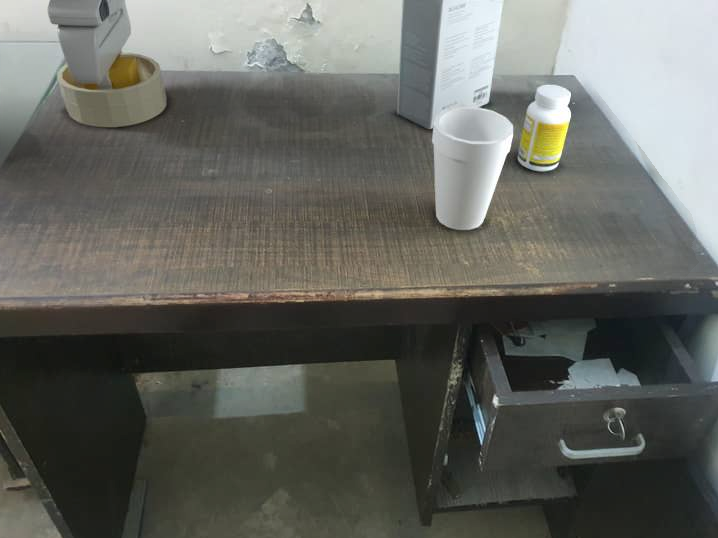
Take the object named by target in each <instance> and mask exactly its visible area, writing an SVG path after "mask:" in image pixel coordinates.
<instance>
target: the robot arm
mask: <svg viewBox="0 0 718 538" xmlns="http://www.w3.org/2000/svg"><path fill="white" fill-rule="evenodd" d="M47 15H48V19H49V21H50V24H52V25H55V26H57V37H58V42H59V45H60V48H61V51H62V54H63V57H64V60H65V64H67V66H68V69H69V71H70V74H71V76H72V77H73V78H74V80H75V81H76V82H78V83H88V84H97V85H98V87H99V90H112V89H115V88H114V84H113V82H111V81H110V78H109V76H108V75H109V69H110V67H111V66H112V64H113V63H114V61H115V59H116V58H117V57H122V53H123V48H124V46H125V44H126V43H127V42H128V39H129V38H130V36H131V34H132V25H131V20H130V17H129V13H128V9H127V5H126V0H49V1H48V5H47Z"/></svg>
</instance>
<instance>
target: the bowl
mask: <svg viewBox="0 0 718 538" xmlns="http://www.w3.org/2000/svg"><path fill="white" fill-rule="evenodd" d="M122 57H135V58H136V63H137V68H138V73H139V77H140V82H141V83H139V84H136V85H133V86H129V87H125V88H121V89H112V90H89V89H85V86H84V83H78V82H76V81H75V80H74V78H73V77H72V76H71V74H70V71H69V69H68V66H67V63H65V64H63V66H61V67H60V68H59V69H58V71H57V72H56V80H57V84H58V86H59V90H60V93H61V96H62V99H63V103H64V105H65V109H66V111H67V113H68V115H69V117H70V118H71V119H73V120H74V121H76V122H77V123H79V124H82V125H86V126H91V127H97V128H119V127H128V126H132V125H133V126H134V125H137V124H141V123H144V122H147V121H149V120H152V119H153V118H155V117H157V116H158V115H160V114H161V113H163V111H164V110H166V109H165V108H166V107H167V104H168V103H167V101H168V100H167V94H166V89H165V85H164V79H163V74H162V69H161V65H160V64H159V63H158V62H157V61H156V60H155V59H153V58H152V57H149V56H146V55H143V54H139V53H132V52H122Z"/></svg>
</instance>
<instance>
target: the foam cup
mask: <svg viewBox="0 0 718 538" xmlns="http://www.w3.org/2000/svg"><path fill="white" fill-rule="evenodd" d="M432 129H433V130H432V137H431V143H432V145H433V171H434V196H435V213H436V214H435V217H436V219H437V220H438V222H439V223H440V224H441V225H444V226H445V227H447V228H449V229H452V230H456V231H470V230H474V229H477V228H479V227H480V226H481V225H482V224H483V223H484V219H485V218H486V216H487V212H488V210H489V207H490V205H491V201H492V199H493V195H494V193H495V190H496V187H497V184H498V181H499V178H500V175H501V172H502V170H503V166H504V163H505V161H506V158H507V156H508V153H510V150H511V147H512V141H513V136H514V124H513V123H512V122H511V121H510V120H509V119H508V118H507V117H506V116H505V115H502V114H501V113H498V112H496V111H494V110H491V109H488V108H482V107H479V108H478V107H454V108H450V109H445V110H443V111H442V112H440V113H439V114H437V115H436V116H435V120H434V127H433V128H432Z"/></svg>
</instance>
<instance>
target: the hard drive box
mask: <svg viewBox="0 0 718 538" xmlns="http://www.w3.org/2000/svg"><path fill="white" fill-rule="evenodd" d="M503 7H504V0H402V3H401V25H400V26H401V27H400V45H399V65H398V66H399V68H398V84H397V85H398V86H397V87H398V88H397V89H398V90H397V106H396V107H397V108H396V109H397V110H396V114H397V115H398V116H401V117H402V118H404V119H407V120H409V121H411V122H412V123H415V124H417V125H419V126H421V127H423V128H425V129H427V130H431V129H433V127H434V120H435V116H436V115H437V114H439V113H440V112H442V111H443V110H445V109H450V108H454V107H478V108H481V107H482V106H484V105H487V104H489V102H490V96H491V89H492V81H493V75H494V69H495V62H496V54H497V48H498V41H499V33H500V26H501V21H502V14H503Z"/></svg>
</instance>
